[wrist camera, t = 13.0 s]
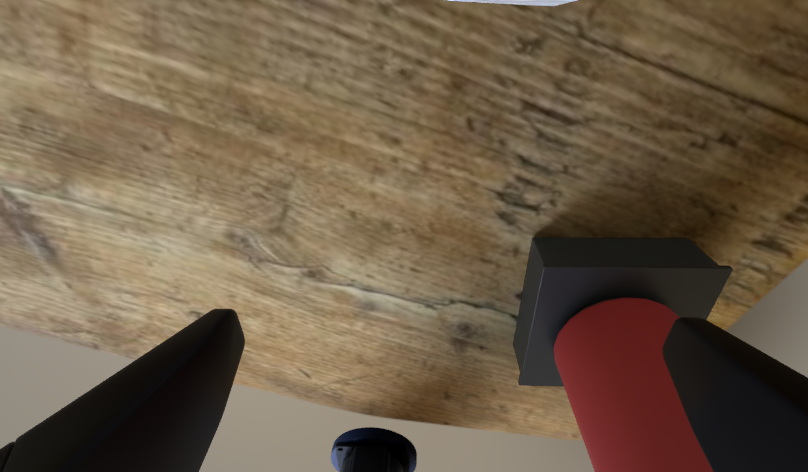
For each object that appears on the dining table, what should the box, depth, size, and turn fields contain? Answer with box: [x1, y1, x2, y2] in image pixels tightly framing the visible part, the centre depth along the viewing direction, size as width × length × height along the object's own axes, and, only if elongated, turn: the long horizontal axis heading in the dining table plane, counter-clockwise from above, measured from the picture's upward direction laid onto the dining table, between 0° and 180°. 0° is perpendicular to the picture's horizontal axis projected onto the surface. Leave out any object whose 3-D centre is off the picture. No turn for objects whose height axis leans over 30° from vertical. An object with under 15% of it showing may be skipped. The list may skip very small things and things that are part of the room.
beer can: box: [553, 297, 713, 472], centre depth 16 cm, size 7×7×12 cm
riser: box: [513, 238, 733, 386], centre depth 22 cm, size 9×9×3 cm
